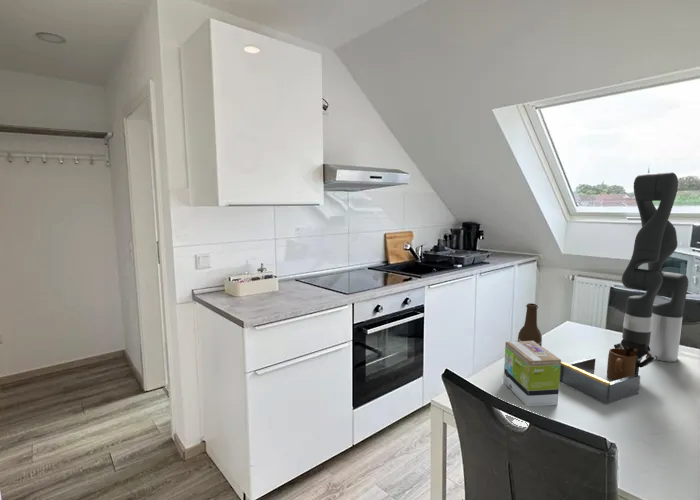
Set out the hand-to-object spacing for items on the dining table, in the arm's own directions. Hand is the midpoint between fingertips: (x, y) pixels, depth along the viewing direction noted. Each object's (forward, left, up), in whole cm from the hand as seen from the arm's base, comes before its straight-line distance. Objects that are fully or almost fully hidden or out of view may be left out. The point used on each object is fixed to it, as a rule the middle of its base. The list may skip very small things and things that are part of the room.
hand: (632, 375), depth 130 cm
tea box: (+42, -6, -1) cm, 42 cm away
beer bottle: (+28, -19, -1) cm, 34 cm away
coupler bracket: (+18, 0, -1) cm, 18 cm away
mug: (+7, 0, -1) cm, 7 cm away
